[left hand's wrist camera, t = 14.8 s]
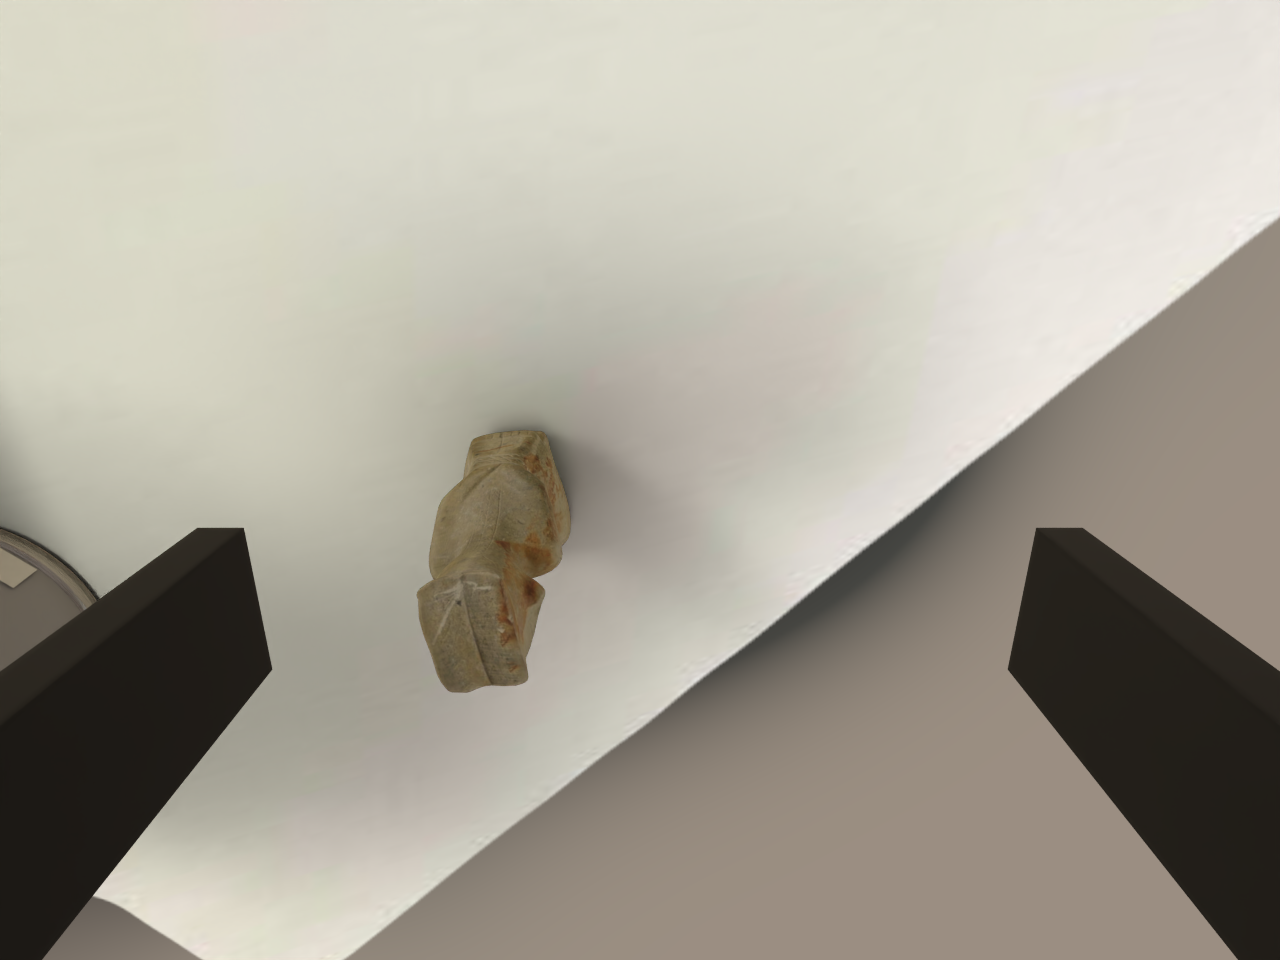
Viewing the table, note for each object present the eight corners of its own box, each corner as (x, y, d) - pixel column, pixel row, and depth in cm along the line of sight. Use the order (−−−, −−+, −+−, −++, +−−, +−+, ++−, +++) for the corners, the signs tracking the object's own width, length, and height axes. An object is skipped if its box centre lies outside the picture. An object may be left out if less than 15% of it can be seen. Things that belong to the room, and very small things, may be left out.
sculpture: (482, 543, 42) (403, 713, 28) (461, 421, 40) (363, 539, 25) (585, 535, 42) (557, 702, 28) (570, 412, 39) (531, 527, 25)
